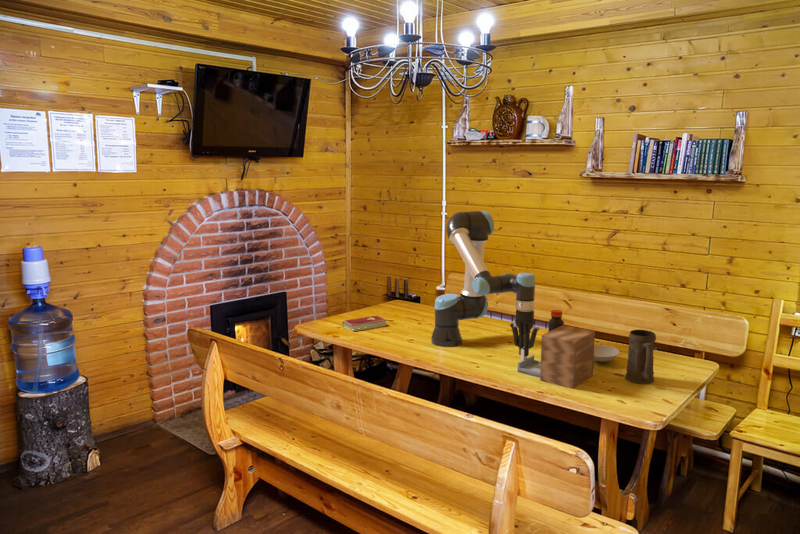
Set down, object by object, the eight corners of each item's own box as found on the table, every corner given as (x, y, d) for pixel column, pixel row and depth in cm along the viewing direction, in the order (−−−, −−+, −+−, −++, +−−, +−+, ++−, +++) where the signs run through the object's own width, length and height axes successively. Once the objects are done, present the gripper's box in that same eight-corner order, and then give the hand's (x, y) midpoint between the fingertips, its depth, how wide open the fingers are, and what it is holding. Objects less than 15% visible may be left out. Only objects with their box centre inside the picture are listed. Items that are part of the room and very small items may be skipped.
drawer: (517, 371, 244) (517, 362, 243) (532, 363, 254) (532, 355, 253) (562, 383, 231) (562, 373, 230) (575, 374, 241) (576, 364, 240)
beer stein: (619, 374, 240) (624, 328, 235) (644, 373, 241) (649, 327, 236) (637, 390, 225) (642, 342, 220) (664, 389, 226) (669, 341, 221)
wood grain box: (540, 380, 234) (541, 335, 231) (561, 367, 248) (562, 325, 245) (573, 388, 225) (575, 341, 222) (592, 375, 239) (595, 331, 236)
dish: (612, 370, 245) (613, 359, 244) (579, 364, 252) (579, 353, 252) (623, 358, 259) (623, 348, 258) (590, 353, 267) (591, 342, 266)
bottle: (554, 356, 263) (556, 313, 260) (544, 352, 269) (545, 310, 266) (565, 353, 266) (567, 311, 263) (555, 349, 272) (557, 308, 269)
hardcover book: (342, 327, 315) (342, 320, 315) (376, 321, 326) (376, 314, 325) (352, 332, 305) (352, 325, 304) (387, 326, 316) (386, 319, 315)
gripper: (506, 309, 246) (505, 362, 250) (534, 313, 238) (533, 368, 242) (515, 305, 252) (514, 357, 256) (543, 310, 243) (541, 363, 247)
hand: (523, 362), depth 249 cm, fingers closed
